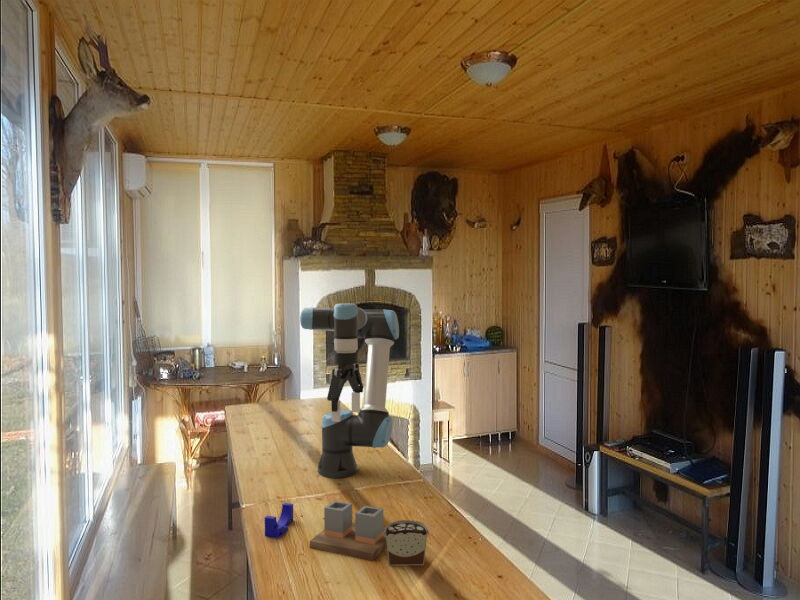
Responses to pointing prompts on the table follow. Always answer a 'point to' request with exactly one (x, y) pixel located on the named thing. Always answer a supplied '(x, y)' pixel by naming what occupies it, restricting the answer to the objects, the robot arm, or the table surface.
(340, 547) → the pin board
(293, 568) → the table surface
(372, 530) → the seated sleeve
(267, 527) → the cable clip
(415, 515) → the table surface
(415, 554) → the brown grey rounded block
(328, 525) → the sleeve
